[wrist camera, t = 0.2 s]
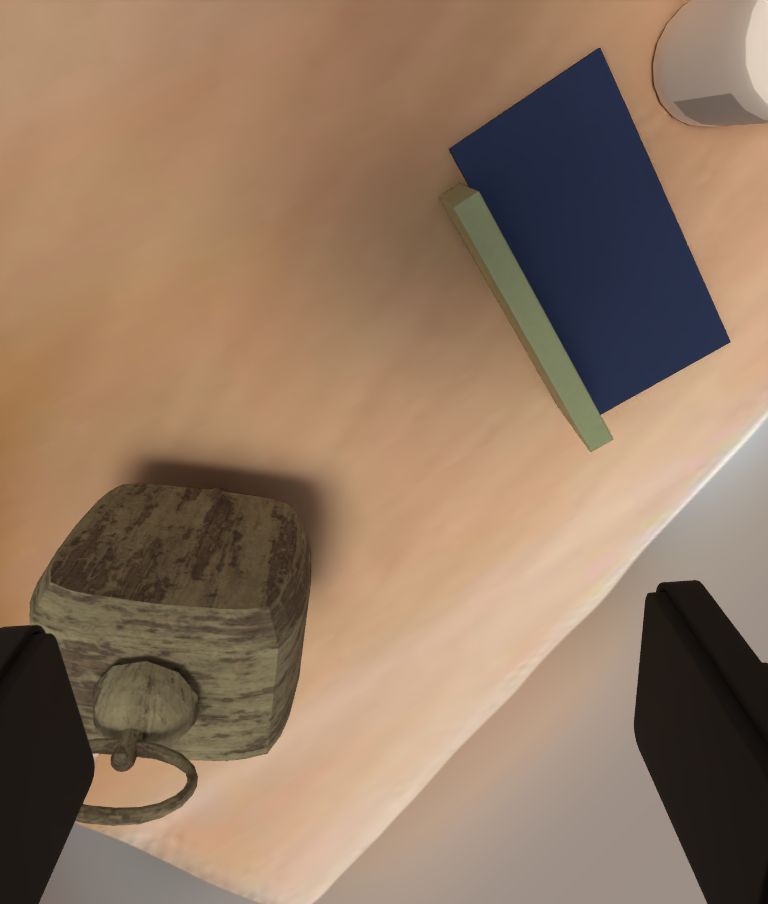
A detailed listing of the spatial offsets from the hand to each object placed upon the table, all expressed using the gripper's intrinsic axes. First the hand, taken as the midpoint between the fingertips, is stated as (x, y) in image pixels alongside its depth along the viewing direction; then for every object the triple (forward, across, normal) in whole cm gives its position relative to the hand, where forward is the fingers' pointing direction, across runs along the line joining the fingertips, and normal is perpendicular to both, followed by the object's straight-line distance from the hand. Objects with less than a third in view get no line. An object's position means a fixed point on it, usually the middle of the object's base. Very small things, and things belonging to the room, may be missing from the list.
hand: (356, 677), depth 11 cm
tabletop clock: (+37, +12, +16) cm, 42 cm away
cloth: (+37, -14, -1) cm, 39 cm away
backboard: (+37, -9, +2) cm, 38 cm away
